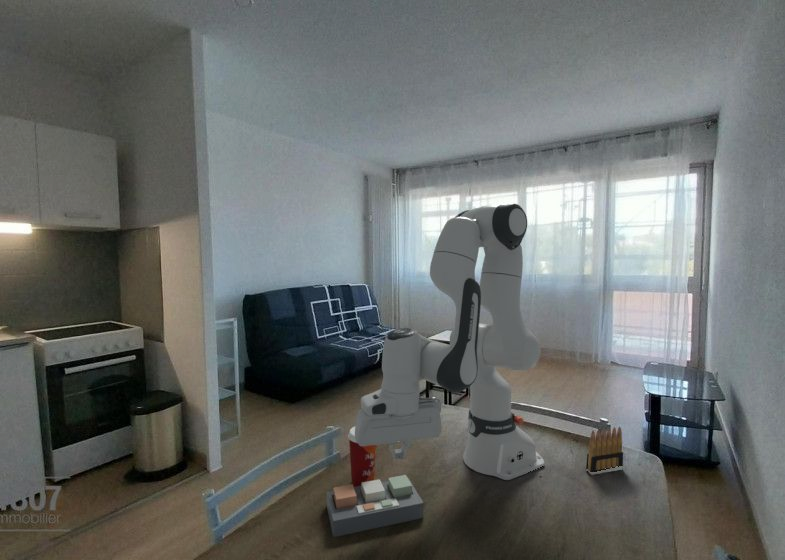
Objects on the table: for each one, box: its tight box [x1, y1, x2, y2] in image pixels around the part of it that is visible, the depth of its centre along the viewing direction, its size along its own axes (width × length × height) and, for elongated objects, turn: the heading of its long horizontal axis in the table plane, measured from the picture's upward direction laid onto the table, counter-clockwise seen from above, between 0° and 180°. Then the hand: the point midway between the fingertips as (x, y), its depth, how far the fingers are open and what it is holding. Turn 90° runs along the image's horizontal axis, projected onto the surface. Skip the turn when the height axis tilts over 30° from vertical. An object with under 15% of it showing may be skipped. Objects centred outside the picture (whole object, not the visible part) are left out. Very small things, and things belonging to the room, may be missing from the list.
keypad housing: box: [326, 476, 425, 538], centre depth 86 cm, size 20×10×4 cm, turn 108°
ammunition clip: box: [585, 426, 624, 472], centre depth 103 cm, size 11×2×12 cm, turn 105°
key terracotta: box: [332, 483, 357, 509], centre depth 85 cm, size 4×4×2 cm
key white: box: [361, 479, 385, 503], centre depth 87 cm, size 4×4×2 cm
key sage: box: [387, 474, 413, 498], centre depth 89 cm, size 4×4×2 cm
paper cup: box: [347, 426, 378, 487], centre depth 96 cm, size 8×8×14 cm
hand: (397, 458), depth 88 cm, fingers closed
